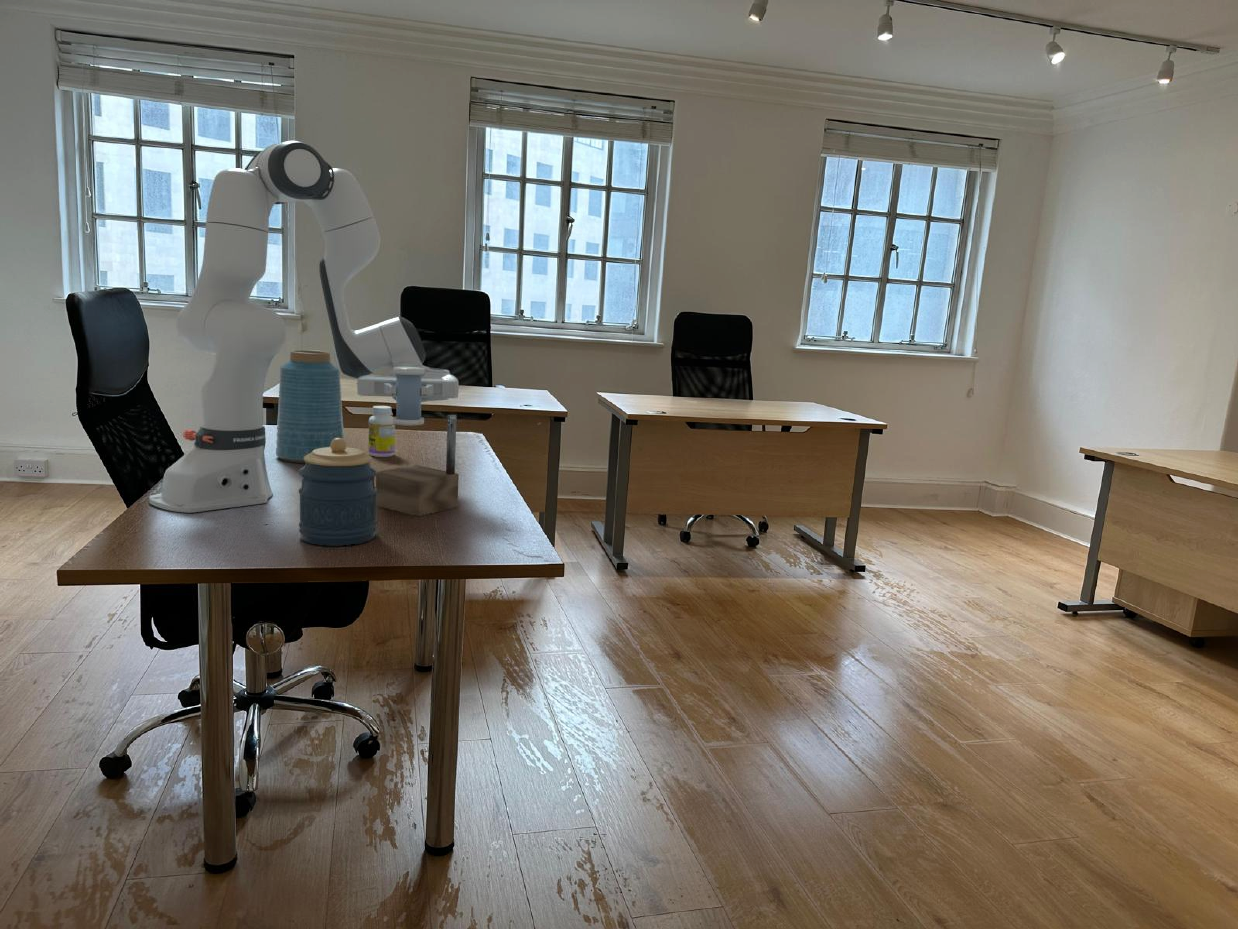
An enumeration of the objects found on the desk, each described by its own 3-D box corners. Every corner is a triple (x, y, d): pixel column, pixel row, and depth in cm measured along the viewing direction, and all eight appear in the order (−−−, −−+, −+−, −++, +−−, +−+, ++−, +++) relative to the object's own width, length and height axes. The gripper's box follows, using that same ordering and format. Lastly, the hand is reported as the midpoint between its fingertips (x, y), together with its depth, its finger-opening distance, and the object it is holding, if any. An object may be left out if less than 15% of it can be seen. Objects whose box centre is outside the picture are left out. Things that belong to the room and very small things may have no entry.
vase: (274, 452, 216) (272, 347, 211) (340, 451, 223) (340, 350, 218) (277, 465, 202) (276, 353, 197) (348, 463, 209) (349, 355, 204)
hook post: (447, 478, 167) (448, 418, 165) (445, 472, 173) (447, 414, 171) (456, 478, 168) (458, 419, 165) (454, 472, 173) (456, 414, 171)
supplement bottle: (366, 453, 223) (366, 405, 221) (391, 452, 226) (392, 405, 224) (371, 458, 218) (371, 408, 215) (397, 457, 221) (397, 408, 218)
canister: (333, 523, 156) (333, 429, 153) (391, 534, 152) (393, 437, 149) (282, 539, 144) (280, 438, 141) (343, 552, 140) (344, 447, 137)
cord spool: (408, 426, 165) (408, 370, 163) (386, 422, 168) (386, 367, 166) (430, 423, 170) (430, 369, 168) (408, 419, 173) (409, 366, 171)
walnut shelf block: (418, 516, 165) (419, 481, 163) (375, 505, 171) (376, 471, 169) (457, 507, 174) (458, 473, 172) (415, 497, 180) (416, 464, 179)
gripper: (357, 366, 177) (353, 373, 164) (456, 370, 182) (460, 377, 169) (357, 396, 178) (354, 406, 165) (455, 399, 183) (460, 408, 170)
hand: (408, 391), depth 167 cm, fingers closed on cord spool, 5 cm apart
